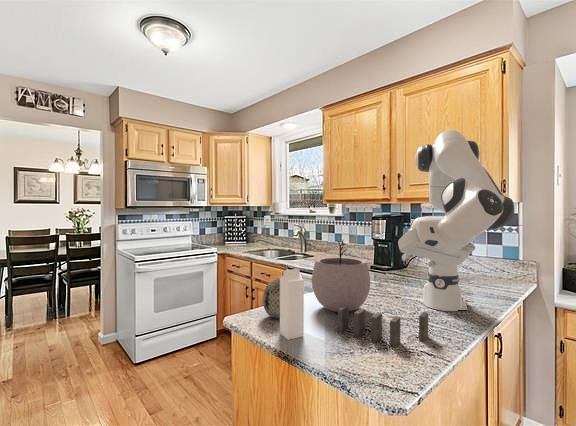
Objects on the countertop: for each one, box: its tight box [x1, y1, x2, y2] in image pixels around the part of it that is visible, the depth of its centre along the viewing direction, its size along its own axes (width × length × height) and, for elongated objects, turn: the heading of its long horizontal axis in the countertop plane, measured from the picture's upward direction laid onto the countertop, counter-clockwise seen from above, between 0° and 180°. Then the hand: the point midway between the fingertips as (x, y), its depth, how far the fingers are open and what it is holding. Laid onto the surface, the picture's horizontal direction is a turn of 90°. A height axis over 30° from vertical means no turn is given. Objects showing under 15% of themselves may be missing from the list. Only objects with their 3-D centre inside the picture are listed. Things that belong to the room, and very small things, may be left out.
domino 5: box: [418, 311, 429, 342], centre depth 102 cm, size 5×2×8 cm, turn 143°
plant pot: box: [311, 237, 371, 313], centre depth 130 cm, size 24×24×30 cm
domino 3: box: [370, 312, 383, 344], centre depth 102 cm, size 5×2×8 cm, turn 143°
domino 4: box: [389, 315, 401, 349], centre depth 98 cm, size 5×2×8 cm, turn 143°
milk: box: [279, 268, 305, 341], centre depth 105 cm, size 6×6×22 cm
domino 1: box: [337, 305, 350, 334], centre depth 109 cm, size 5×2×8 cm, turn 143°
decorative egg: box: [262, 278, 280, 319], centre depth 121 cm, size 12×12×15 cm
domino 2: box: [353, 308, 366, 339], centre depth 105 cm, size 5×2×8 cm, turn 143°
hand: (417, 262), depth 97 cm, fingers open, 8 cm apart
